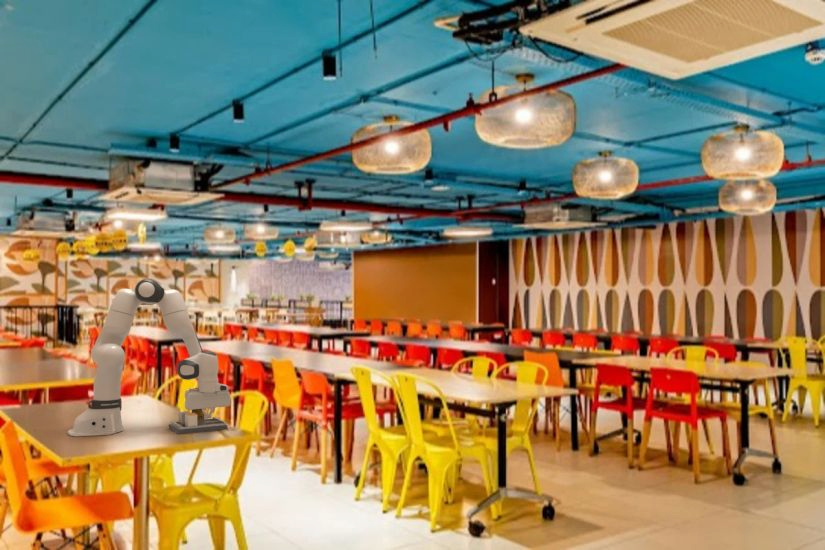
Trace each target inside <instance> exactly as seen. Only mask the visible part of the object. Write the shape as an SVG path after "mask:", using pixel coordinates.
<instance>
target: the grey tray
mask: <svg viewBox="0 0 825 550" xmlns="http://www.w3.org/2000/svg"><path fill="white" fill-rule="evenodd" d="M168 429H169V430H170V429H171V430H170V431H172V432H174V433H175V434H177V435H184V434H194V433H205V432H214V431H215V432H216V431H225V430H228V424H227V422H226V421H224V420H223V419H221V418H218V417H216V416H212V418H206V419H201V420H197V425H195V426H189V427H187V426H185V424H179V421H174V420H170V423H168Z"/></svg>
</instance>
